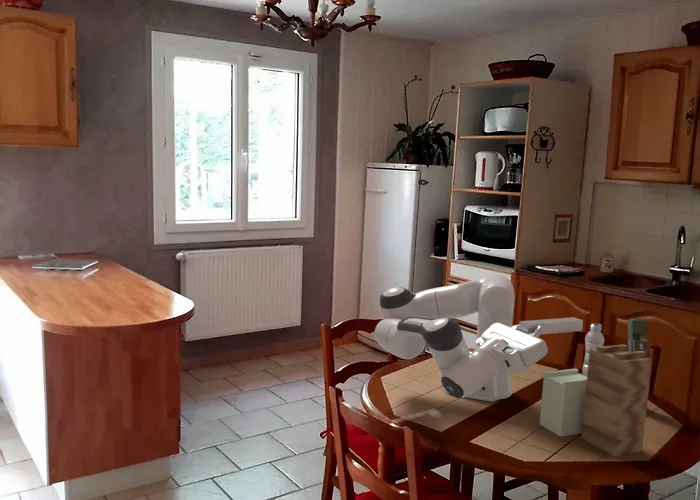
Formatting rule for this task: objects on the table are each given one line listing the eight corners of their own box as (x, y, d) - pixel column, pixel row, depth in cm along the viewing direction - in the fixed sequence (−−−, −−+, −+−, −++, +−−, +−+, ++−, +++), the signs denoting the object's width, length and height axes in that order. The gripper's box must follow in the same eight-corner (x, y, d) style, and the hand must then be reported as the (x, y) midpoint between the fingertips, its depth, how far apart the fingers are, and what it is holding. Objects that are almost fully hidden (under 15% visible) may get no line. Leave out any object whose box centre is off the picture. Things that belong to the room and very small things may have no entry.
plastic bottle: (599, 381, 226) (604, 327, 224) (579, 377, 230) (584, 324, 227) (602, 376, 232) (607, 324, 229) (583, 373, 235) (588, 321, 233)
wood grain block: (614, 456, 166) (624, 357, 162) (581, 438, 177) (590, 344, 173) (641, 451, 170) (652, 354, 166) (607, 433, 181) (617, 342, 177)
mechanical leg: (651, 416, 193) (655, 318, 196) (626, 413, 194) (630, 316, 198) (639, 410, 207) (643, 319, 210) (615, 407, 208) (620, 317, 211)
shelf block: (560, 436, 177) (565, 382, 175) (539, 424, 185) (544, 372, 183) (593, 431, 182) (598, 378, 180) (571, 419, 190) (576, 368, 188)
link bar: (527, 335, 166) (528, 324, 165) (518, 332, 169) (519, 321, 168) (582, 330, 173) (583, 320, 173) (572, 327, 177) (573, 317, 176)
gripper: (477, 352, 175) (513, 325, 179) (525, 376, 156) (565, 345, 160) (469, 334, 173) (506, 307, 177) (517, 356, 154) (557, 325, 158)
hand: (534, 325), depth 168 cm, fingers closed on link bar, 3 cm apart
